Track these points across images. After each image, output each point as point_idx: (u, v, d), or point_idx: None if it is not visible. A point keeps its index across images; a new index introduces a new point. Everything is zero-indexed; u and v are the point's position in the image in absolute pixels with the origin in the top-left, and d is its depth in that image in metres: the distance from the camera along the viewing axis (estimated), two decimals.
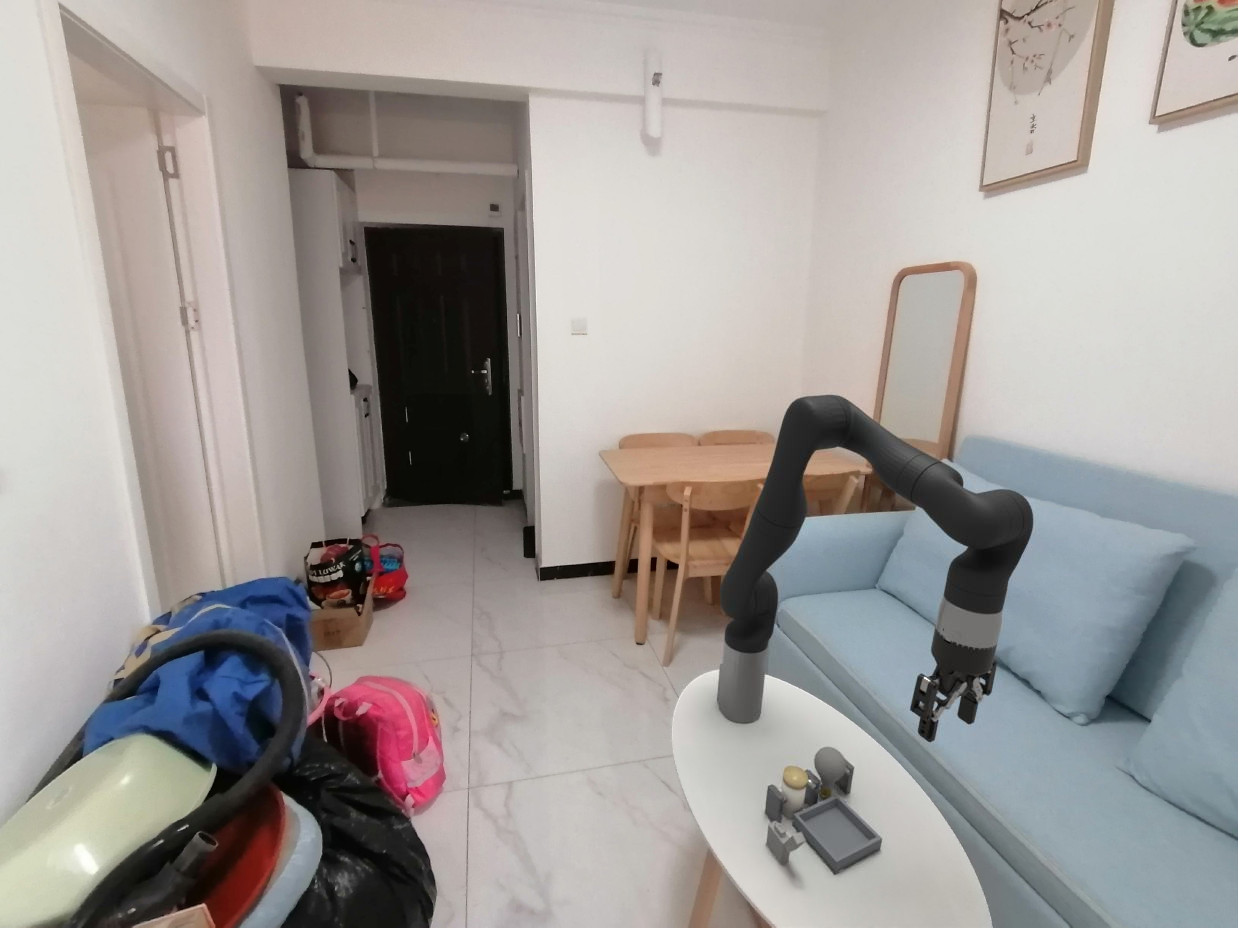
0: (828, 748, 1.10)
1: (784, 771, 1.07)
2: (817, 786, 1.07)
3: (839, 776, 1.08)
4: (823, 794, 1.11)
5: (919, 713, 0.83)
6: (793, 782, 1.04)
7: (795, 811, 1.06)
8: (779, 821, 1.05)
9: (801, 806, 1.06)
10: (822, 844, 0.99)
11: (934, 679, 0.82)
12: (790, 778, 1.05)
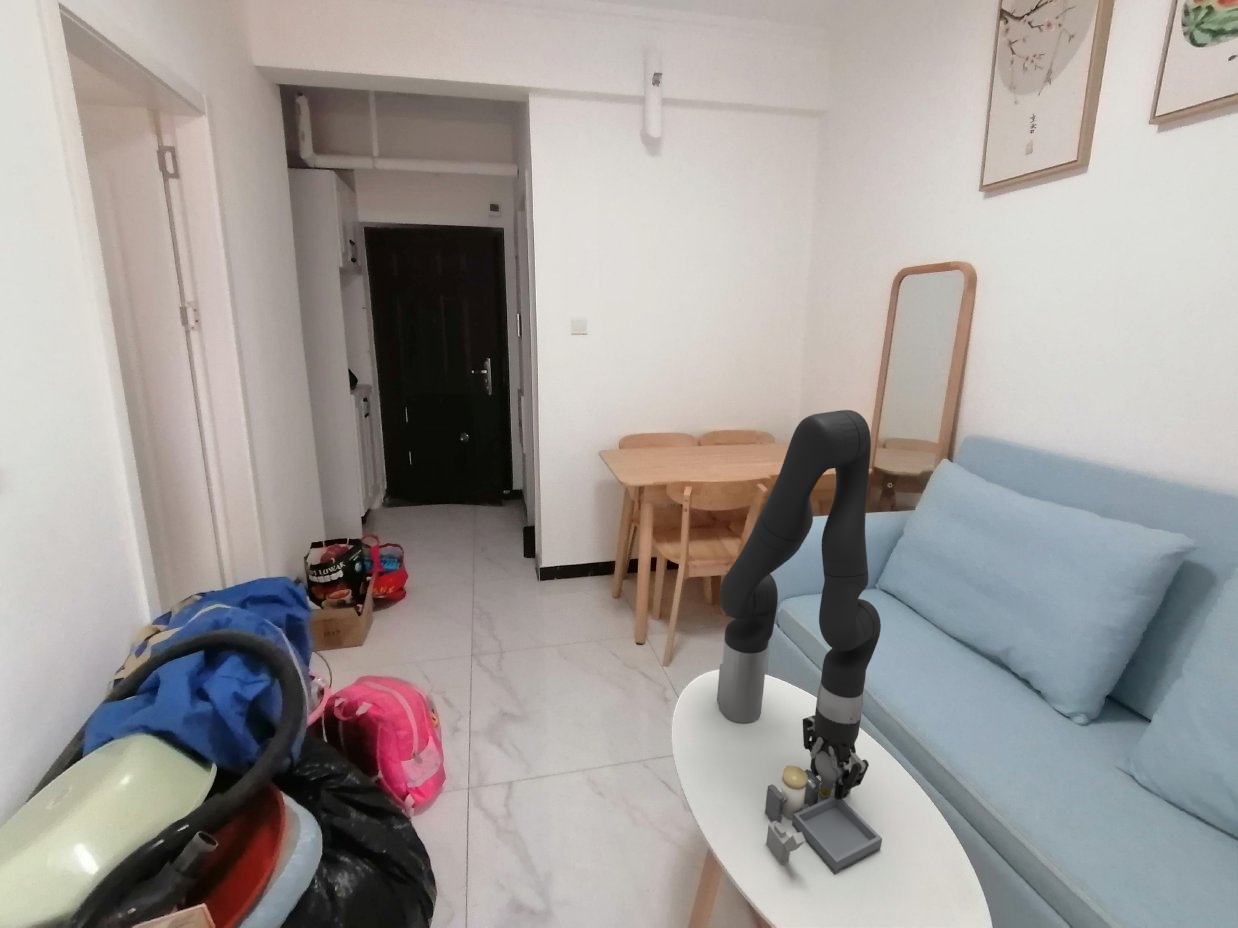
0: None
1: (784, 771, 1.07)
2: (817, 786, 1.07)
3: None
4: (823, 794, 1.11)
5: (856, 784, 1.05)
6: (793, 782, 1.04)
7: (795, 811, 1.06)
8: (779, 821, 1.05)
9: (801, 806, 1.06)
10: (822, 844, 0.99)
11: (859, 758, 1.03)
12: (790, 778, 1.05)
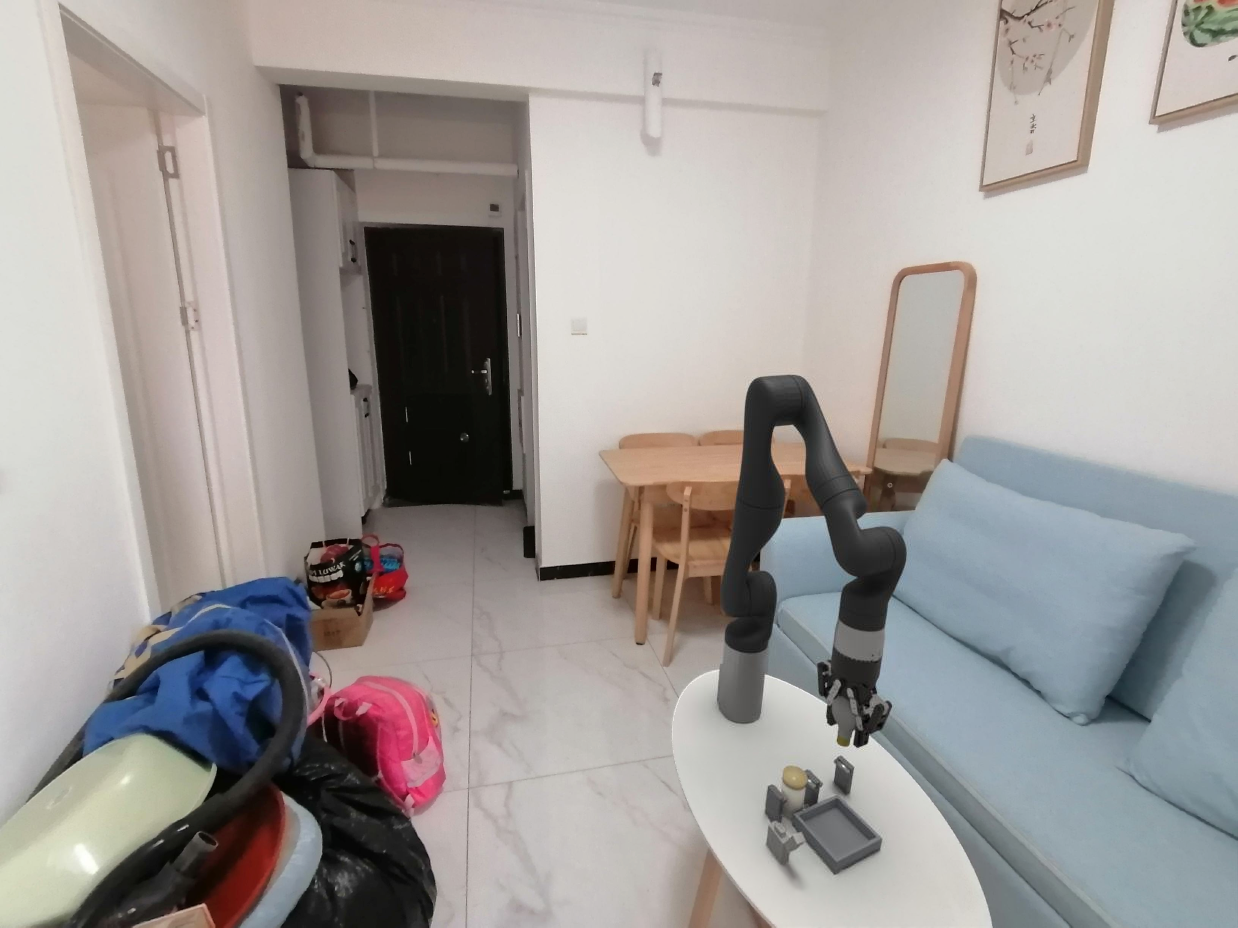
0: None
1: (784, 771, 1.07)
2: (817, 786, 1.07)
3: None
4: (841, 743, 1.02)
5: (878, 728, 0.96)
6: (793, 782, 1.04)
7: (795, 811, 1.06)
8: (779, 821, 1.05)
9: (801, 806, 1.06)
10: (822, 844, 0.99)
11: (881, 699, 0.94)
12: (790, 778, 1.05)
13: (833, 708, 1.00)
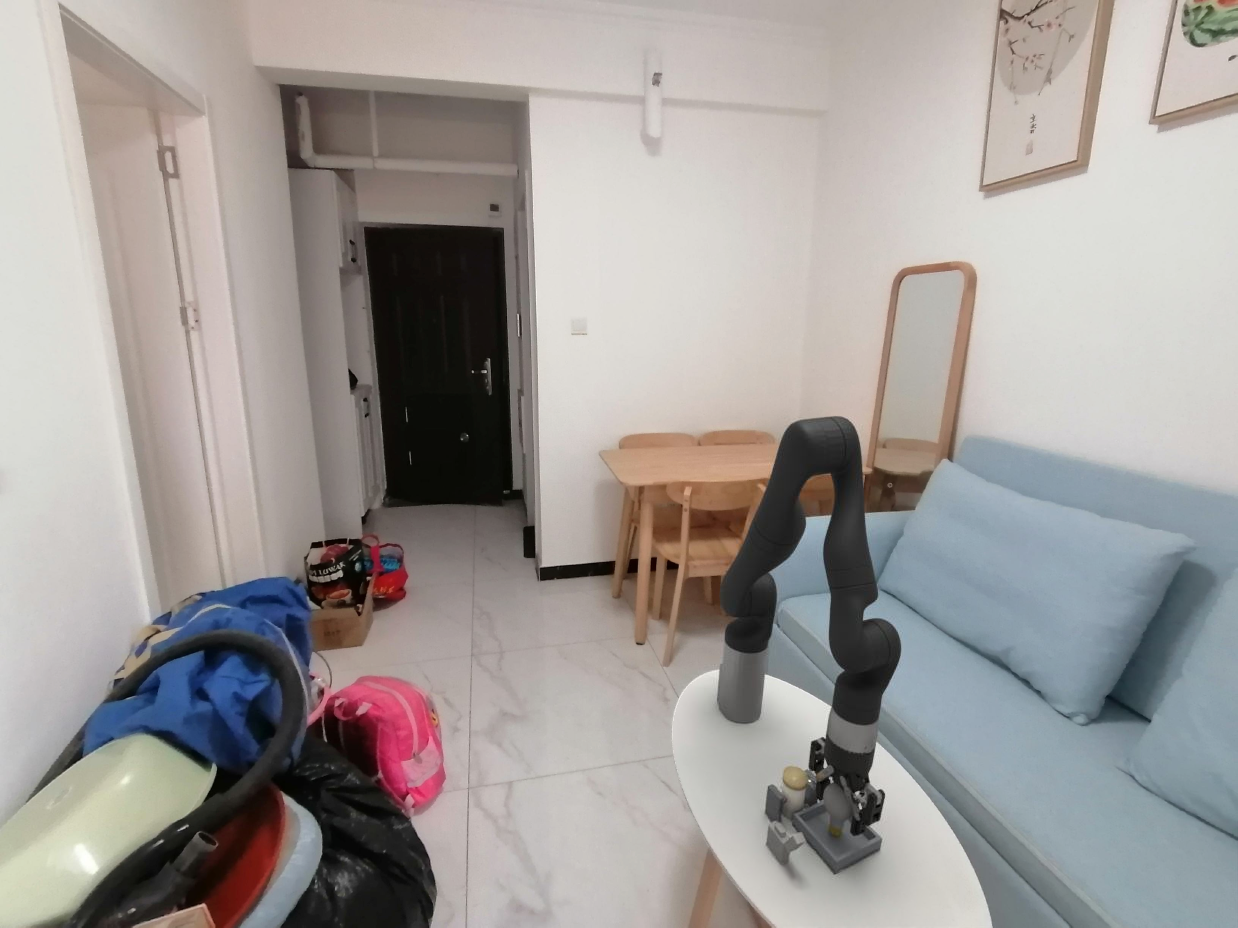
0: None
1: (784, 772, 1.06)
2: None
3: (851, 815, 0.99)
4: (833, 833, 1.02)
5: (875, 820, 0.95)
6: (794, 783, 1.04)
7: (796, 811, 1.06)
8: (779, 821, 1.05)
9: (801, 806, 1.06)
10: (822, 844, 0.99)
11: (874, 788, 0.94)
12: (791, 779, 1.05)
13: (824, 798, 1.01)
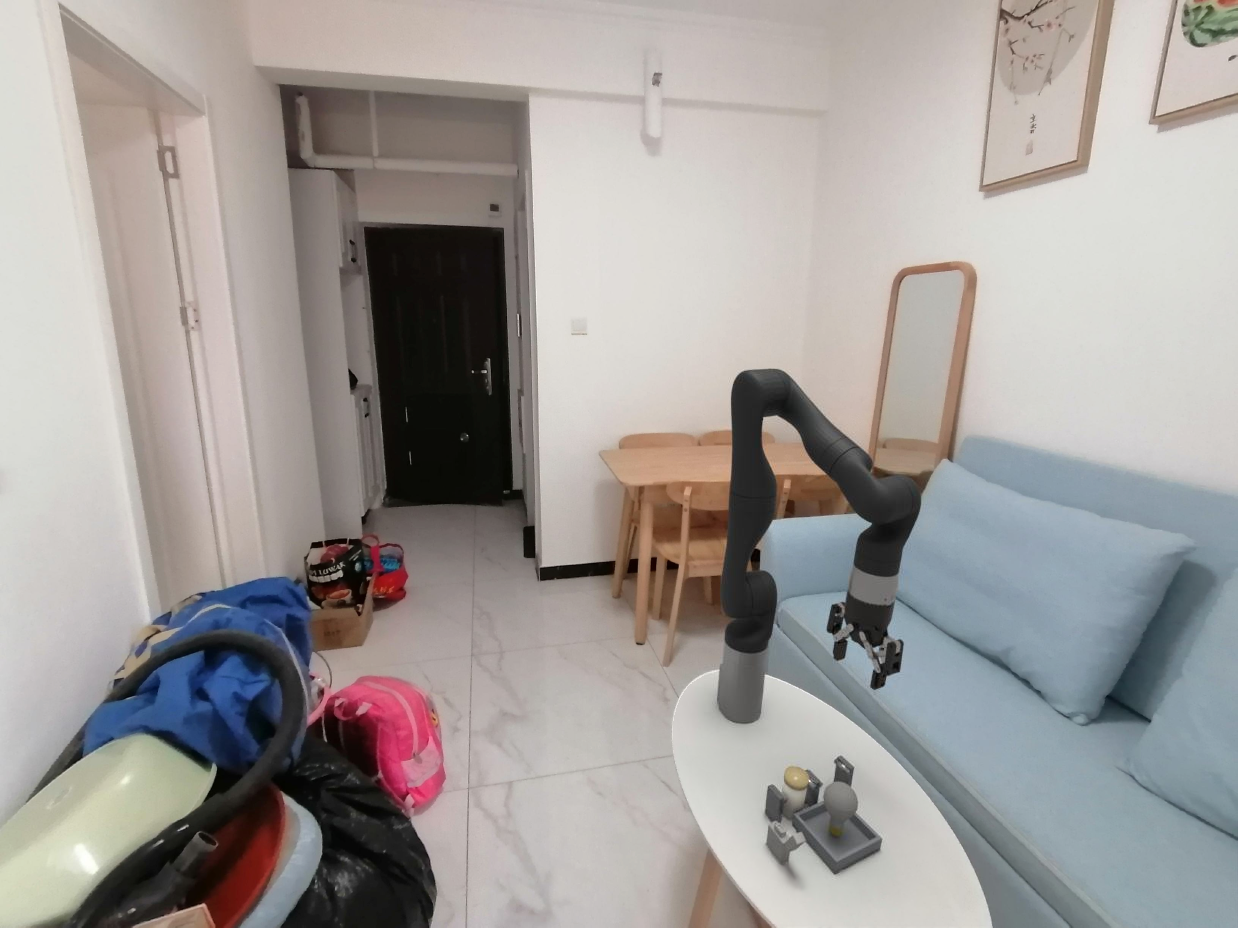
0: (839, 783, 1.01)
1: (785, 772, 1.06)
2: (817, 786, 1.07)
3: (851, 815, 0.99)
4: (833, 833, 1.02)
5: (895, 671, 0.98)
6: (796, 783, 1.04)
7: (796, 811, 1.06)
8: (779, 821, 1.05)
9: (802, 806, 1.06)
10: (822, 844, 0.99)
11: (892, 638, 0.98)
12: (793, 779, 1.05)
13: (824, 798, 1.01)
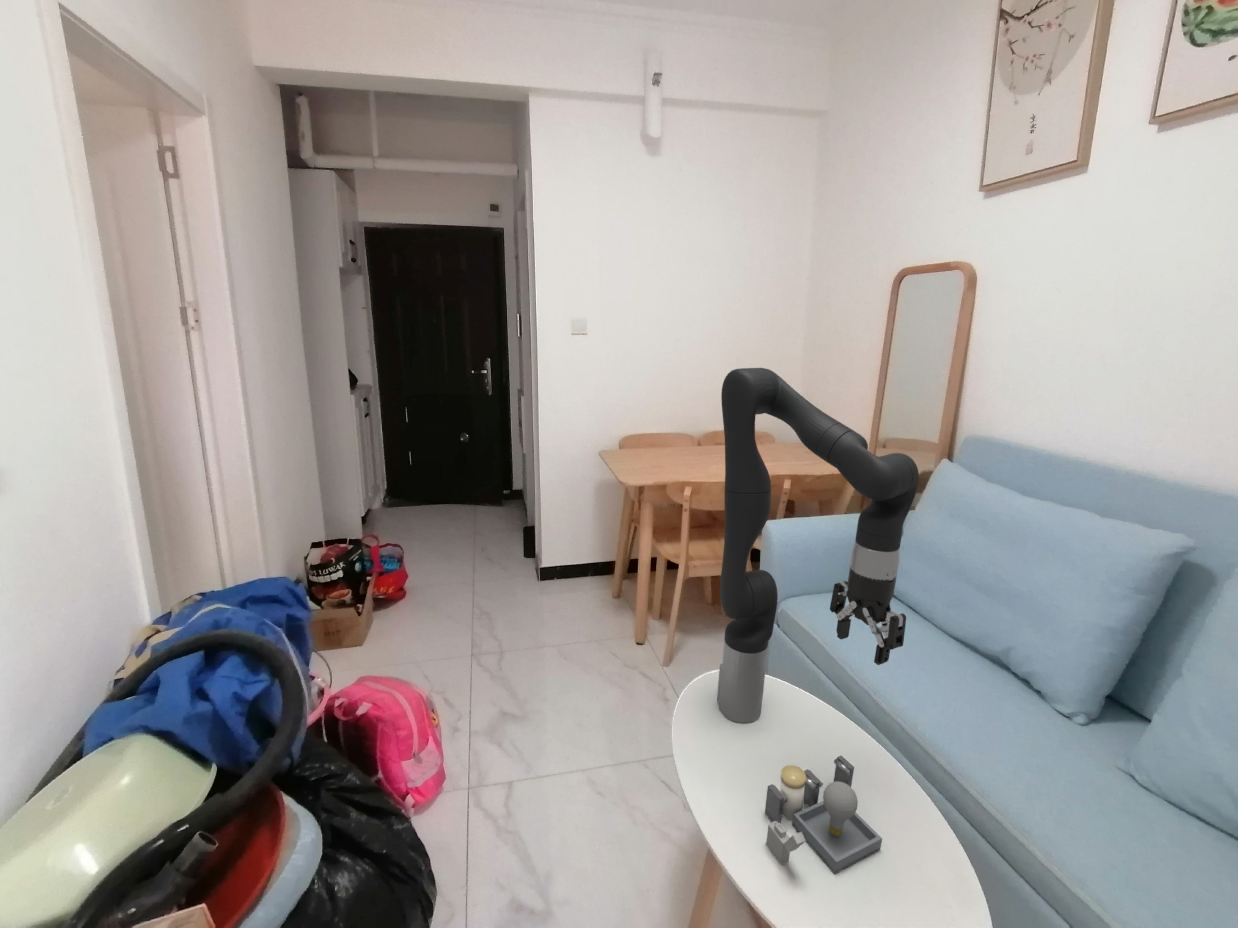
0: (838, 783, 1.01)
1: (782, 772, 1.06)
2: (817, 786, 1.07)
3: (851, 815, 0.99)
4: (833, 833, 1.02)
5: (898, 644, 1.01)
6: (793, 782, 1.04)
7: (796, 810, 1.06)
8: (779, 821, 1.05)
9: (801, 804, 1.06)
10: (822, 844, 0.99)
11: (895, 613, 1.01)
12: (790, 778, 1.05)
13: (824, 798, 1.01)
